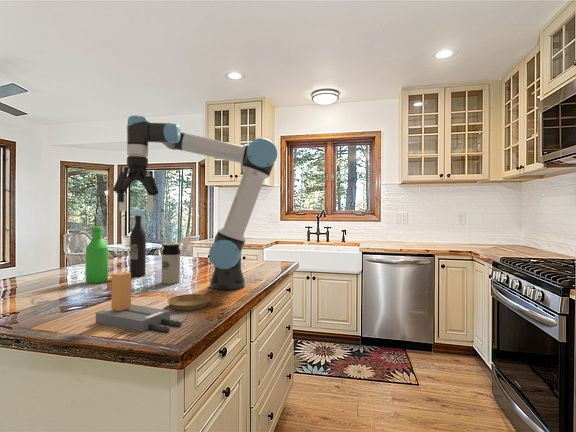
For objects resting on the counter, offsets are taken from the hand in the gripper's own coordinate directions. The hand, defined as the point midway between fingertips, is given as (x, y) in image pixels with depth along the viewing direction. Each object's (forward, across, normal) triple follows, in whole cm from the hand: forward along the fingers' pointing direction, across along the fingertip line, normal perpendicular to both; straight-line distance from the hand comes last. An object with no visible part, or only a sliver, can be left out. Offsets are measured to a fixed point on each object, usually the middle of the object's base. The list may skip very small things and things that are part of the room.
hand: (137, 211), depth 135 cm
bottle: (+33, -9, -33) cm, 47 cm away
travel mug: (+33, -23, -3) cm, 40 cm away
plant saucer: (+33, +4, +29) cm, 44 cm away
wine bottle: (+33, -27, -27) cm, 51 cm away
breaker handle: (+29, +25, +20) cm, 43 cm away
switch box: (+33, +25, +28) cm, 50 cm away
